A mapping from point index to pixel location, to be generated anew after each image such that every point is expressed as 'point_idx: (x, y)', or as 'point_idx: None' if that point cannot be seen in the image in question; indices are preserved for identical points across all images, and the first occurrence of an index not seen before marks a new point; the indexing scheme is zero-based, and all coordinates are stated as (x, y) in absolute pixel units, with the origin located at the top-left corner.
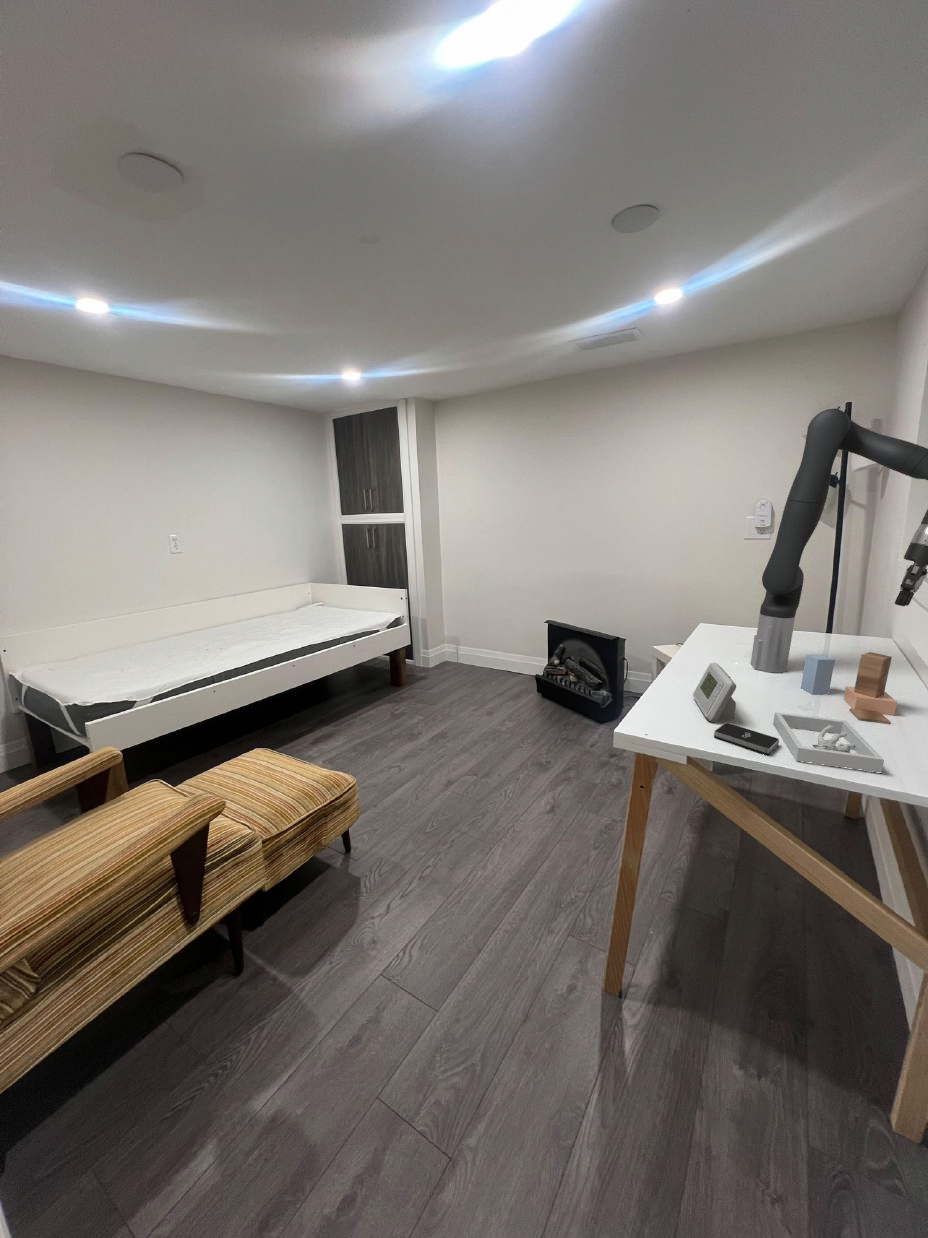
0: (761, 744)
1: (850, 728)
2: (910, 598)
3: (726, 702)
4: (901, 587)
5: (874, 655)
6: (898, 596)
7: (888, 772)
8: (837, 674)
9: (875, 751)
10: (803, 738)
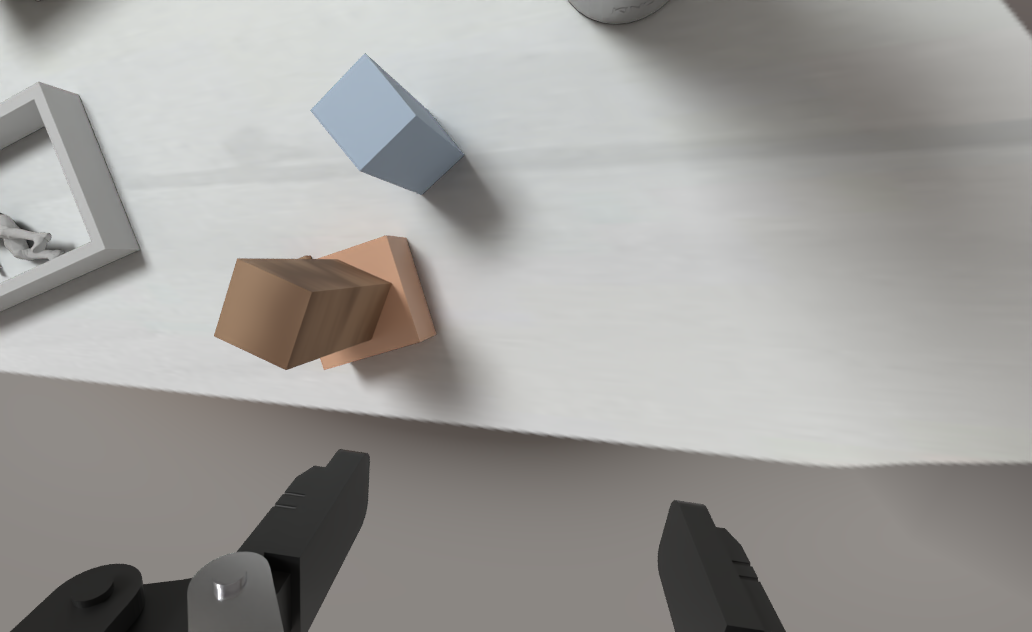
0: None
1: (61, 258)
2: (676, 624)
3: None
4: (111, 574)
5: (258, 307)
6: (305, 502)
7: (8, 328)
8: (711, 205)
9: None
10: (48, 171)
